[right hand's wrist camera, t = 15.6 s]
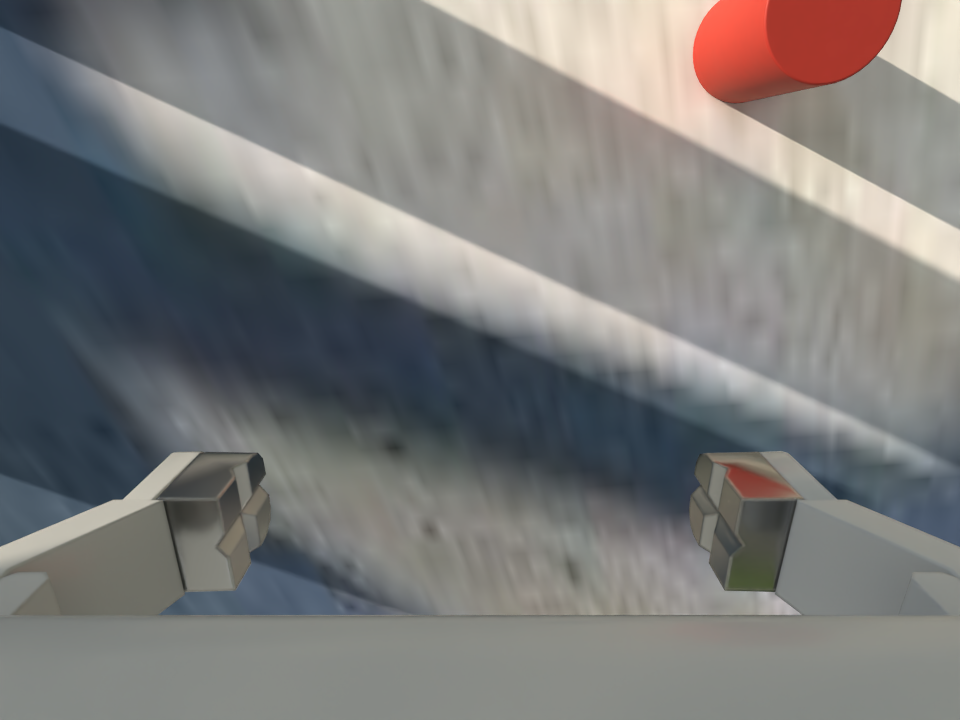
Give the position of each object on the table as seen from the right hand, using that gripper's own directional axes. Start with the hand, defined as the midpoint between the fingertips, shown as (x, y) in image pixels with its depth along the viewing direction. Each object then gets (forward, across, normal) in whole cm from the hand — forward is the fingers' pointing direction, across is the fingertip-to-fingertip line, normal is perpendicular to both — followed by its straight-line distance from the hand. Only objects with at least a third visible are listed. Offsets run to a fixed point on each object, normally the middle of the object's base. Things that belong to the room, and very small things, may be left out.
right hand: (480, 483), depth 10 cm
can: (+21, -13, -11) cm, 27 cm away
